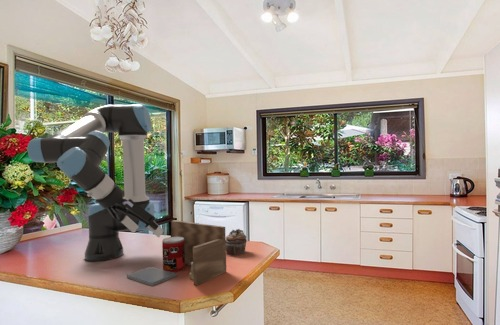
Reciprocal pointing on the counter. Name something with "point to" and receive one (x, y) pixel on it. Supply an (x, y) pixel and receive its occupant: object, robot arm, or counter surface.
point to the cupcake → (236, 242)
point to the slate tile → (151, 276)
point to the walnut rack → (202, 248)
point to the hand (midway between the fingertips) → (148, 231)
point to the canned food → (173, 254)
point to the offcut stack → (191, 271)
